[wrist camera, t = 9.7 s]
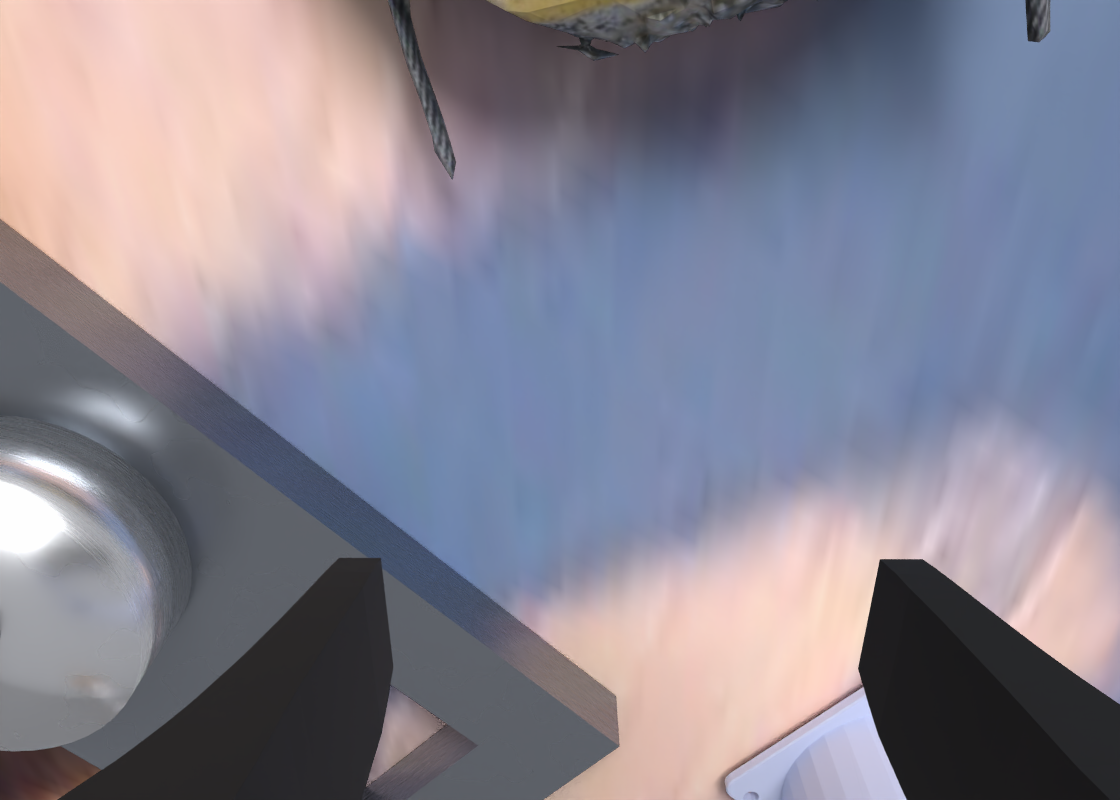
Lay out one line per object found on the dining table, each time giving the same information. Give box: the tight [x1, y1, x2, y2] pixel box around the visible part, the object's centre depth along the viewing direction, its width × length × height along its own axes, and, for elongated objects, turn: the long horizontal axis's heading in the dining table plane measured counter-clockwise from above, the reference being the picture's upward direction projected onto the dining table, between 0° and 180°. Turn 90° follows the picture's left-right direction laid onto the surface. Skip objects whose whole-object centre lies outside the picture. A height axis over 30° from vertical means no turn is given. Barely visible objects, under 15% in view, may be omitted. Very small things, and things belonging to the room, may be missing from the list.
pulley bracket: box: [0, 219, 619, 800], centre depth 22 cm, size 22×12×6 cm, turn 45°
